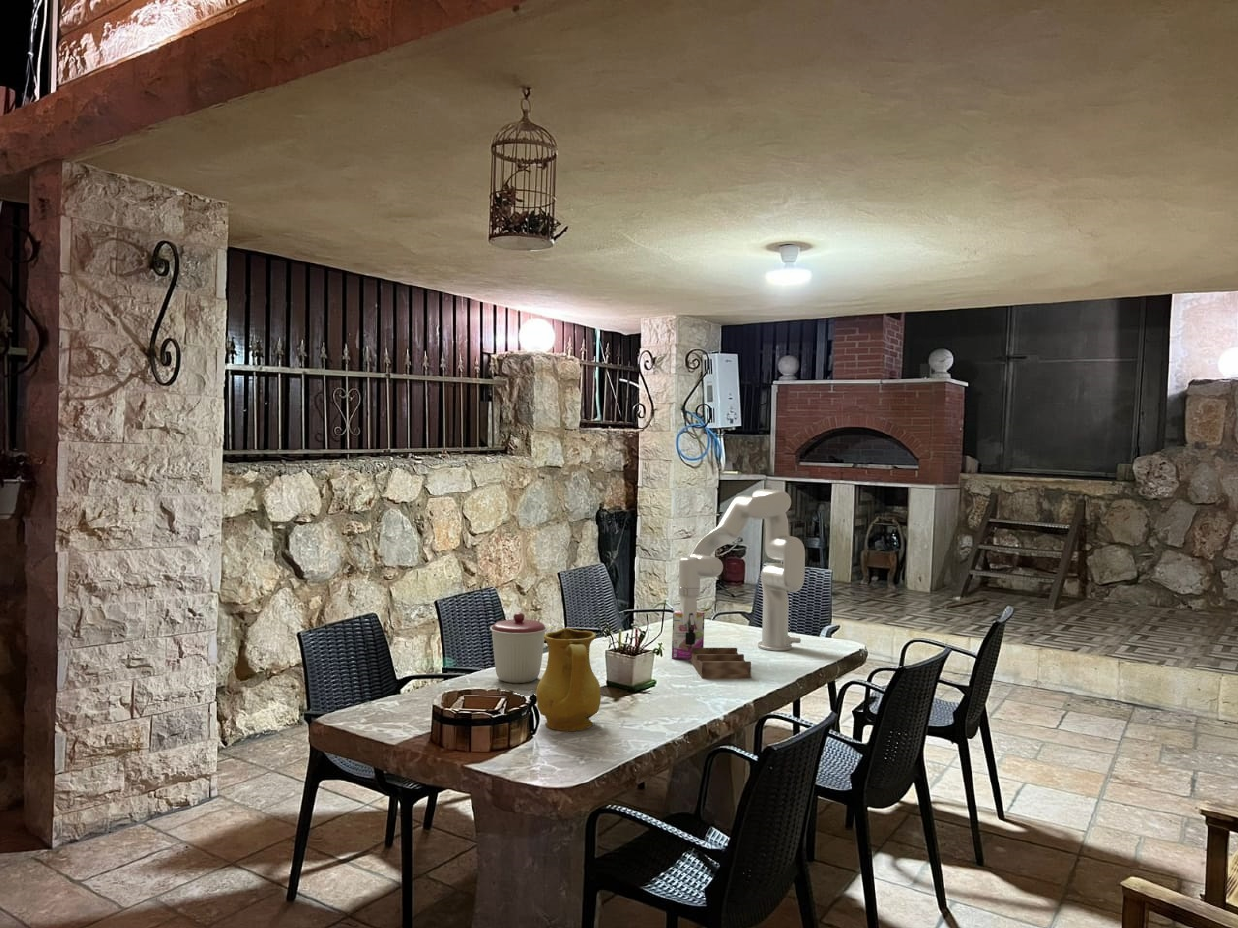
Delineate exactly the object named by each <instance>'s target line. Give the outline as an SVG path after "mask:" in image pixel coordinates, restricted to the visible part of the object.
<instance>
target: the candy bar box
mask: <svg viewBox="0 0 1238 928" xmlns="http://www.w3.org/2000/svg"><path fill="white" fill-rule="evenodd" d="M705 614H706V613H705V612H704V611H697V622H696V625H695V624H694V625H695V626H694V627H695V644H694V645H687V644H686V643H685V641H686V633H687V631H686V624H685V625H682V613H681V612H680V611H679V610H673V614H672V617H673V618H672V637H671V638H672V641H671V643H672V644H671V659H676V660H691V648H705V646H704V645H705V643H704V642H705V641H704V640H705V619H706V618H705V616H706V615H705ZM694 623H695V622H694ZM688 624H690V623H688ZM688 629H689V627H688Z"/></svg>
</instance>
